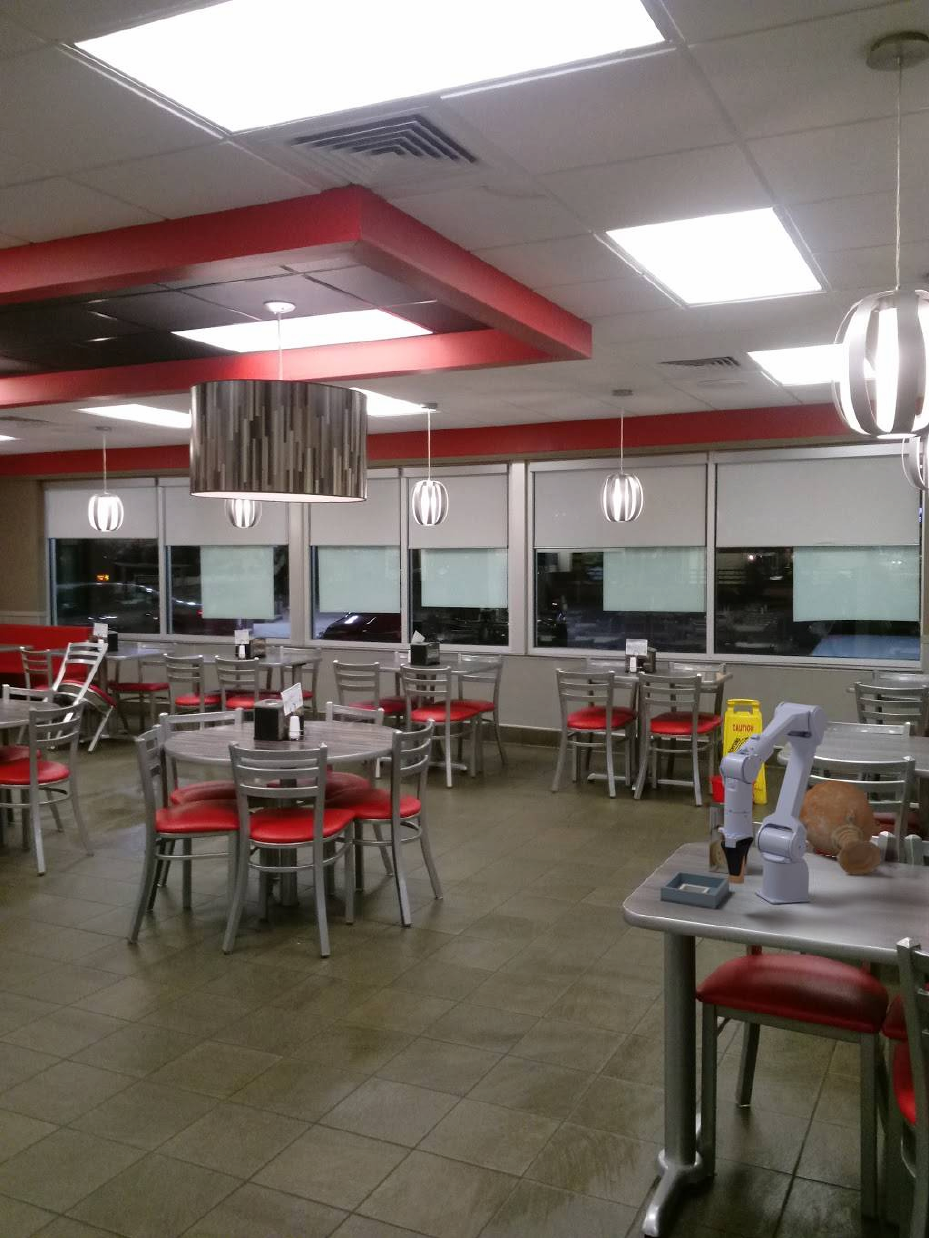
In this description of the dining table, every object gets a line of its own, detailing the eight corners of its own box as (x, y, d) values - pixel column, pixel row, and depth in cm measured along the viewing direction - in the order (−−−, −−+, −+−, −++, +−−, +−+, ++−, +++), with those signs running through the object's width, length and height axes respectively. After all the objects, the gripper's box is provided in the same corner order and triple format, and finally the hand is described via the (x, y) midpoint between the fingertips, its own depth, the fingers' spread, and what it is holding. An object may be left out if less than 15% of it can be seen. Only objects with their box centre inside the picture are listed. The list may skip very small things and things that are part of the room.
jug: (878, 802, 276) (923, 845, 246) (831, 854, 279) (870, 903, 249) (821, 757, 275) (859, 795, 245) (774, 811, 277) (807, 855, 248)
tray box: (677, 883, 241) (677, 870, 241) (728, 891, 235) (729, 878, 235) (660, 900, 228) (660, 887, 228) (714, 909, 223) (715, 895, 223)
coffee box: (747, 868, 254) (749, 803, 253) (746, 875, 248) (748, 809, 247) (709, 864, 257) (711, 800, 256) (707, 871, 251) (709, 806, 250)
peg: (739, 878, 222) (740, 846, 221) (746, 883, 218) (747, 850, 218) (725, 879, 221) (726, 847, 220) (733, 884, 218) (733, 851, 217)
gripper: (726, 800, 227) (725, 861, 228) (711, 814, 214) (709, 879, 215) (759, 804, 224) (757, 866, 225) (745, 818, 211) (744, 884, 212)
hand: (736, 872), depth 219 cm, fingers closed on peg, 3 cm apart
